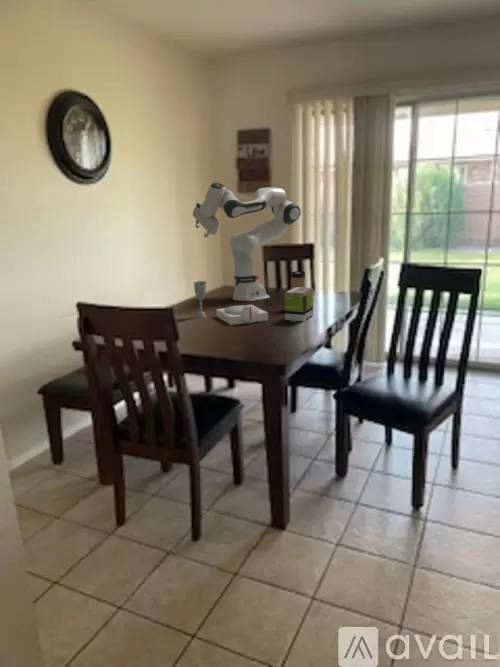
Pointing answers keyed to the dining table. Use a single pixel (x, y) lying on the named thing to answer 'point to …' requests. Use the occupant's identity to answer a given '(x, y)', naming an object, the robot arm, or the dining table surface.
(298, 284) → the travel mug
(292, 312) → the tea box
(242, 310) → the dial scale
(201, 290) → the chalice
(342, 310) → the dining table surface
